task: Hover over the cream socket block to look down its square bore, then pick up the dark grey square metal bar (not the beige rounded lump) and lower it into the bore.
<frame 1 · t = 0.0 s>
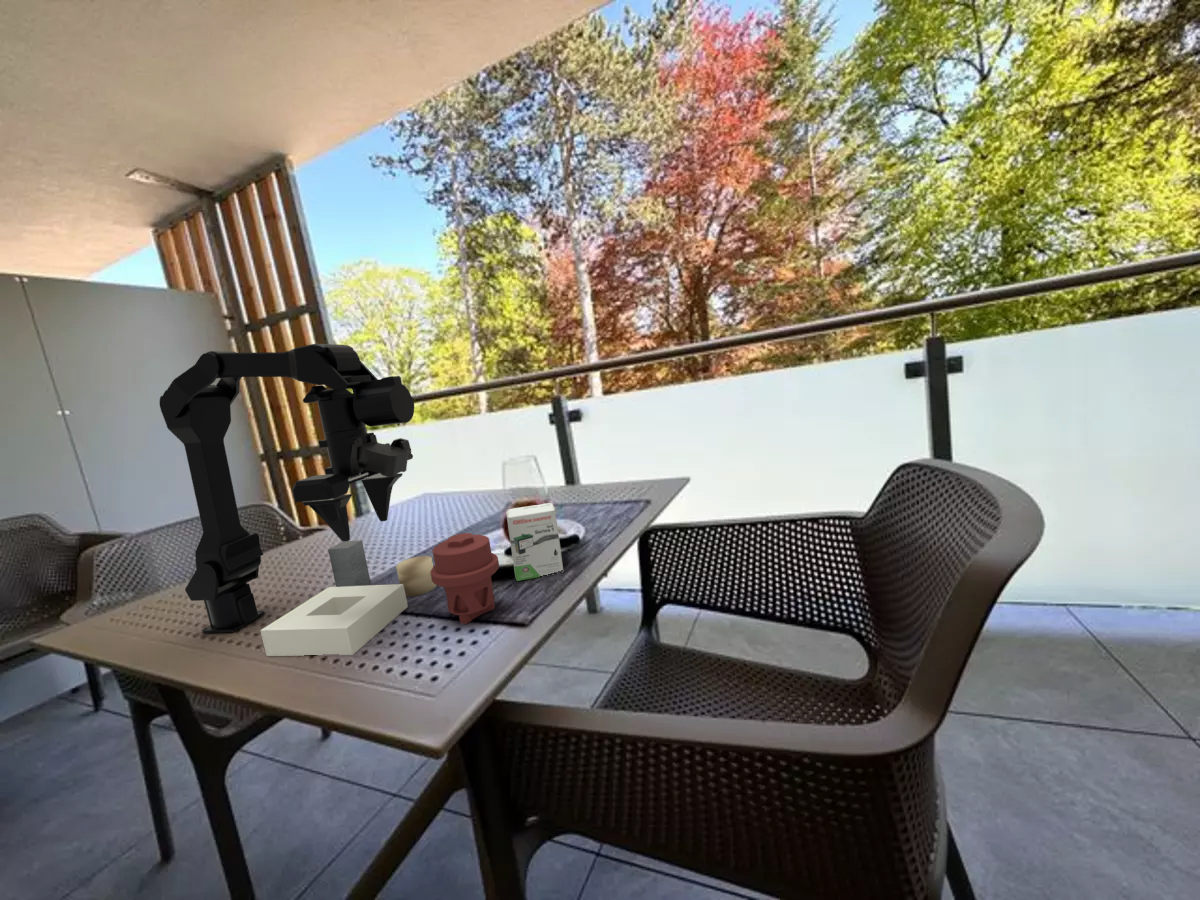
hand: (366, 530, 78), 15 cm above the table, tool pointing down, fingers open, 9 cm apart
beige rounded lump: (419, 588, 91), on the table
ink box: (539, 573, 92), on the table
square bar: (355, 591, 94), on the table
socket block: (342, 629, 79), on the table
mechanical component: (473, 614, 79), on the table
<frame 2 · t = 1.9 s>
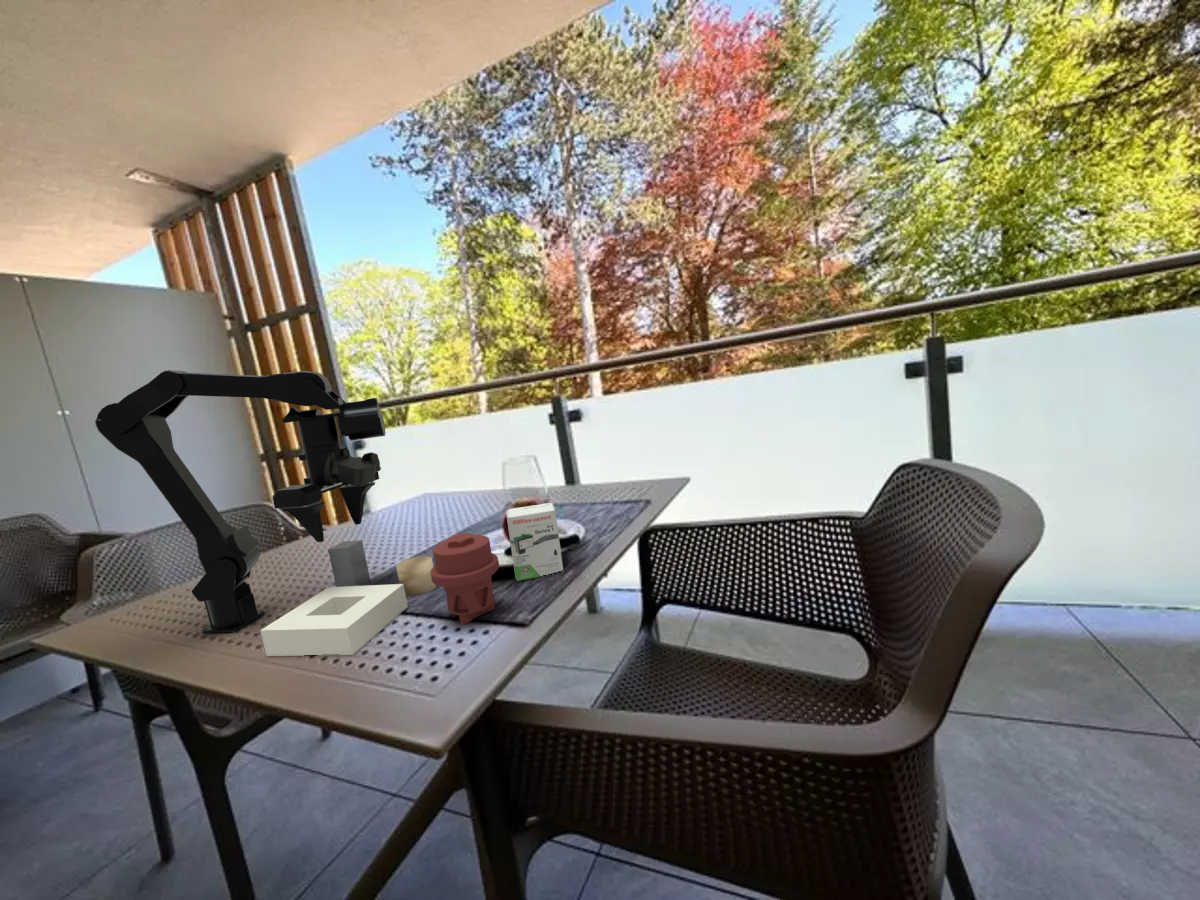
hand: (340, 532, 90), 12 cm above the table, tool pointing down, fingers open, 9 cm apart
nothing on the table moved.
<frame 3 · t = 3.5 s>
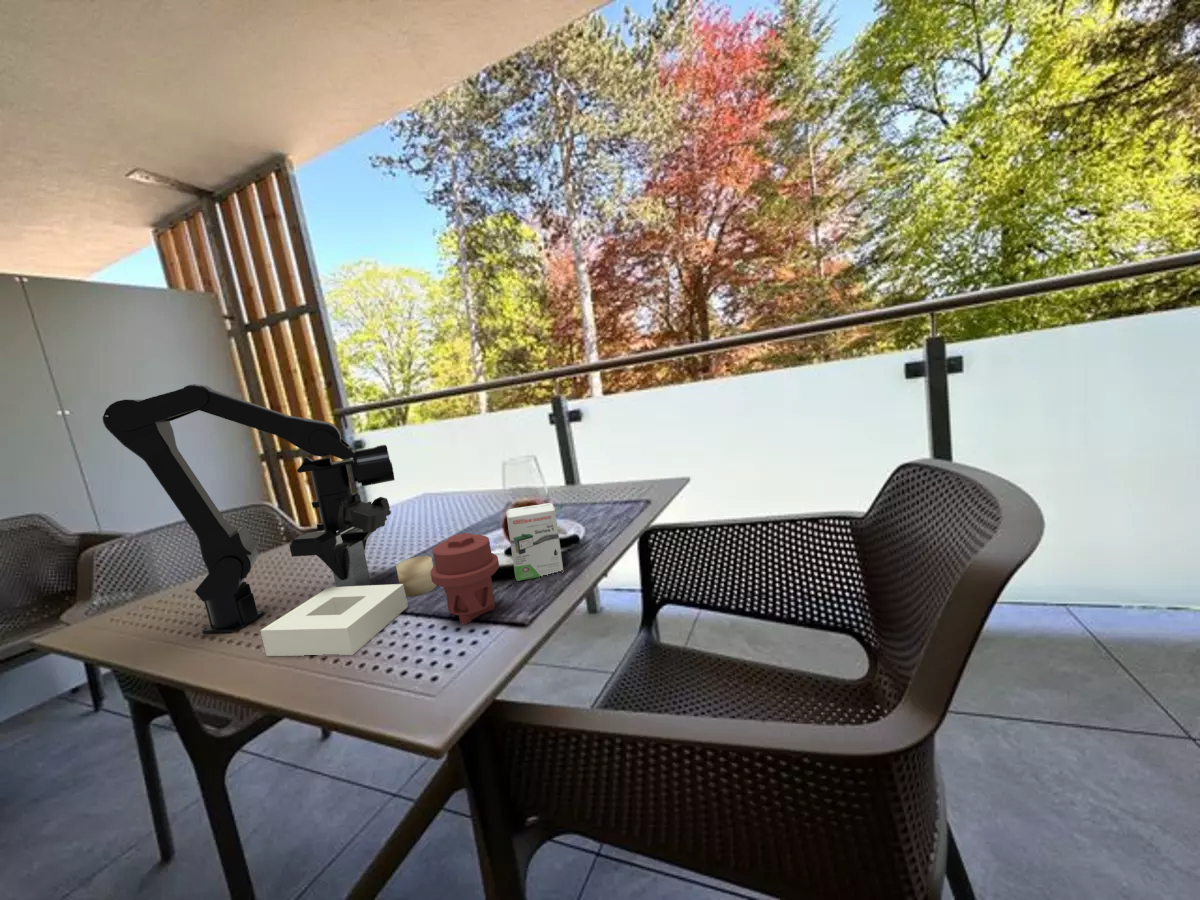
hand: (351, 574, 93), 3 cm above the table, tool pointing down, fingers closed on square bar, 4 cm apart
square bar: (355, 591, 94), on the table, touching gripper
everything else where it was.
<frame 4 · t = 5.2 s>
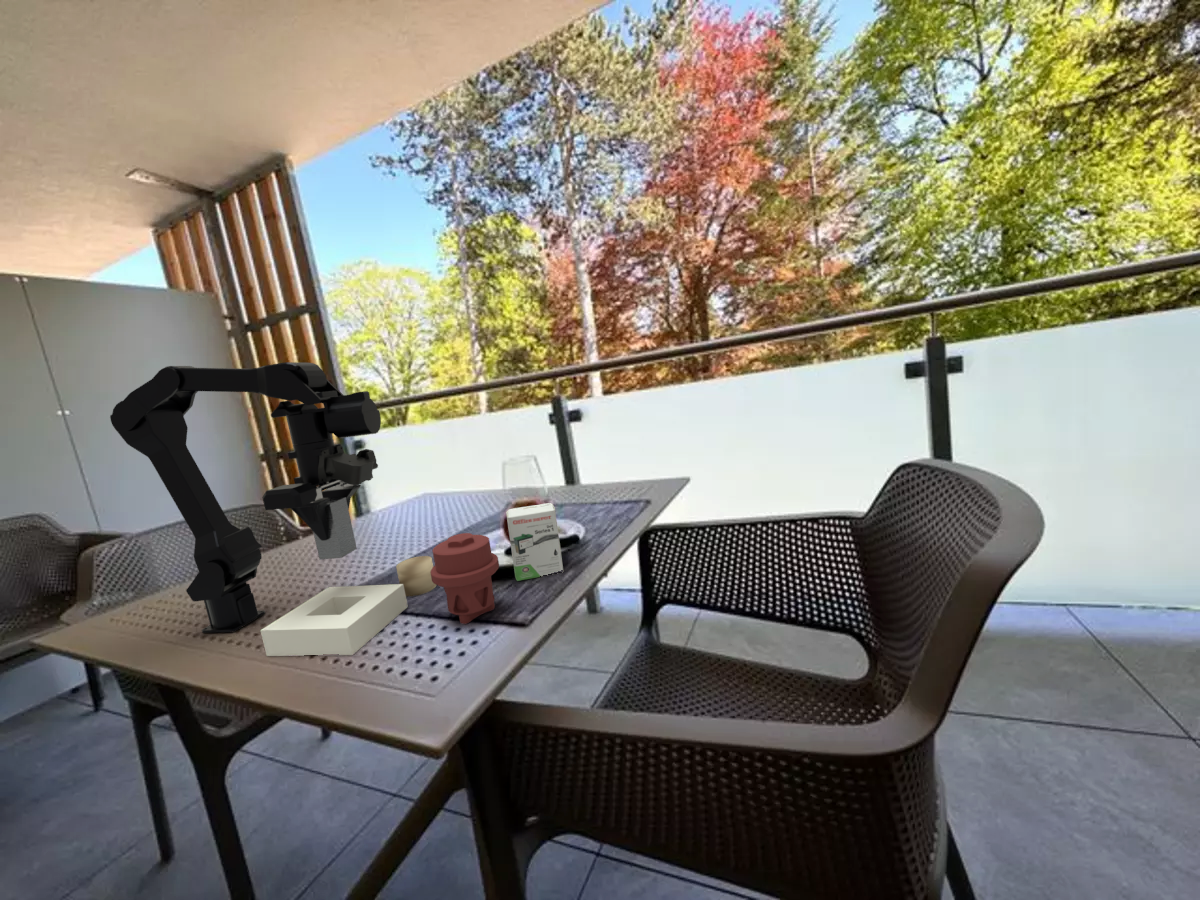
hand: (334, 535, 84), 13 cm above the table, tool pointing down, fingers closed on square bar, 4 cm apart
square bar: (338, 554, 84), point 10 cm above the table, touching gripper
everything else where it was.
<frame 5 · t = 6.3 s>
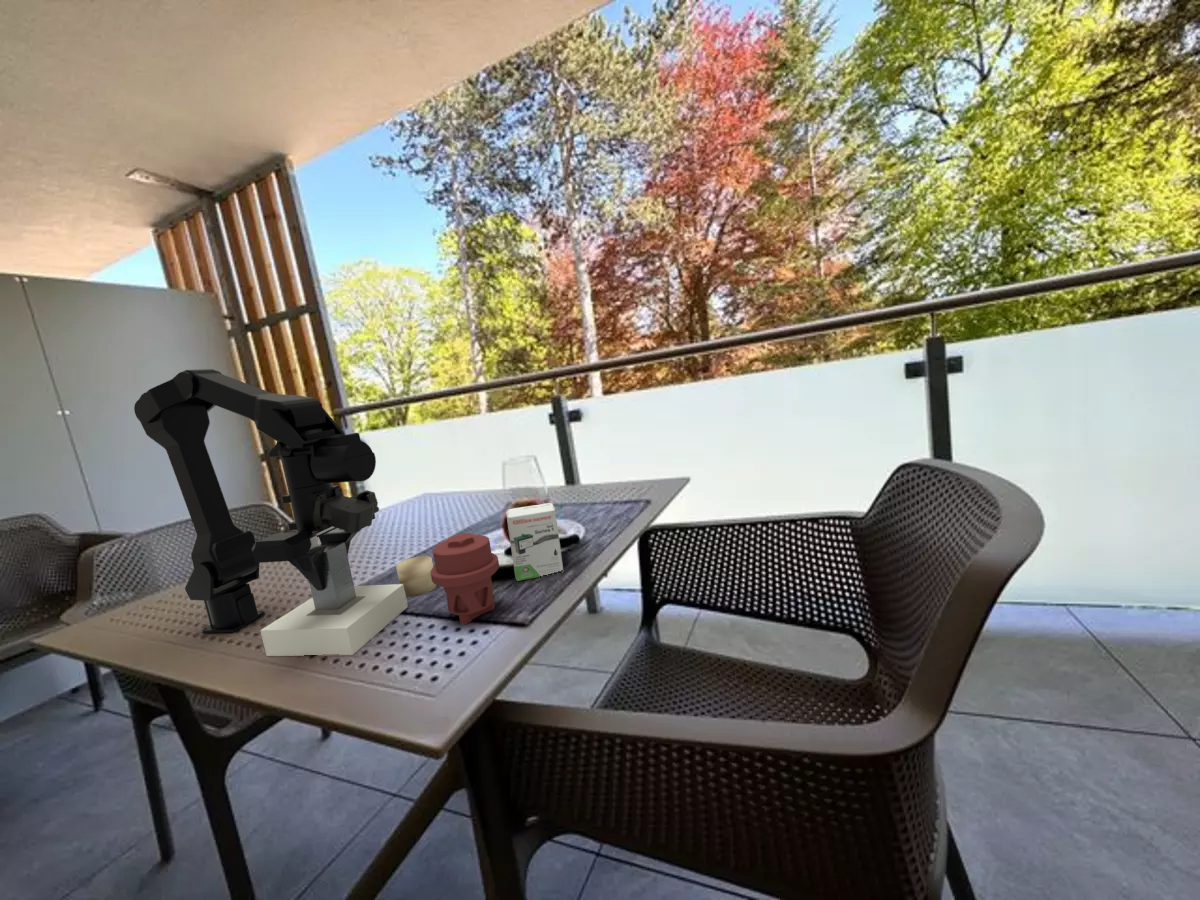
hand: (331, 583, 77), 8 cm above the table, tool pointing down, fingers closed on square bar, 4 cm apart
square bar: (336, 603, 78), point 4 cm above the table, touching gripper
everything else where it was.
when the fingers open (5 cm above the table, at t = 7.2 s): square bar drops 2 cm, resting in socket block.
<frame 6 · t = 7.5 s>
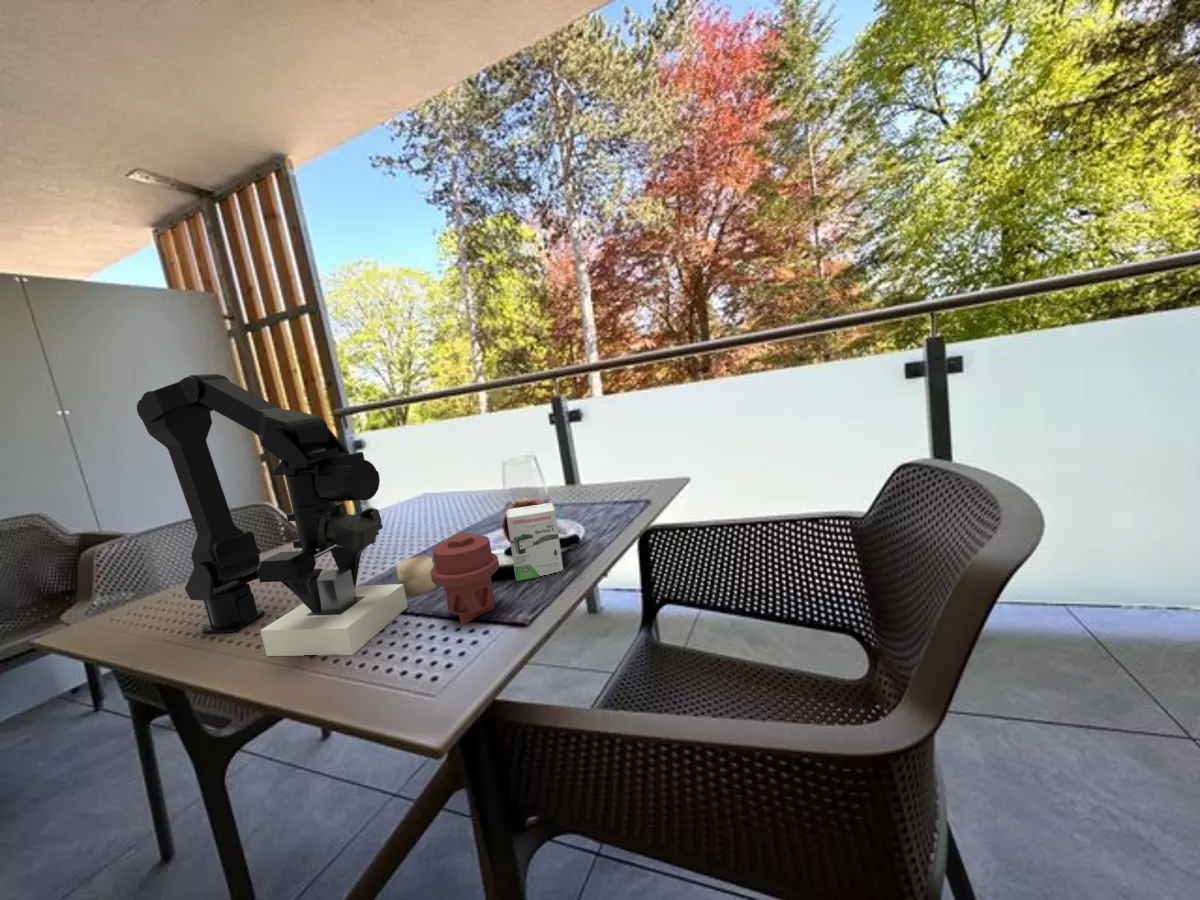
hand: (335, 600, 78), 5 cm above the table, tool pointing down, fingers open, 7 cm apart
square bar: (342, 629, 79), resting in socket block
everything else where it was.
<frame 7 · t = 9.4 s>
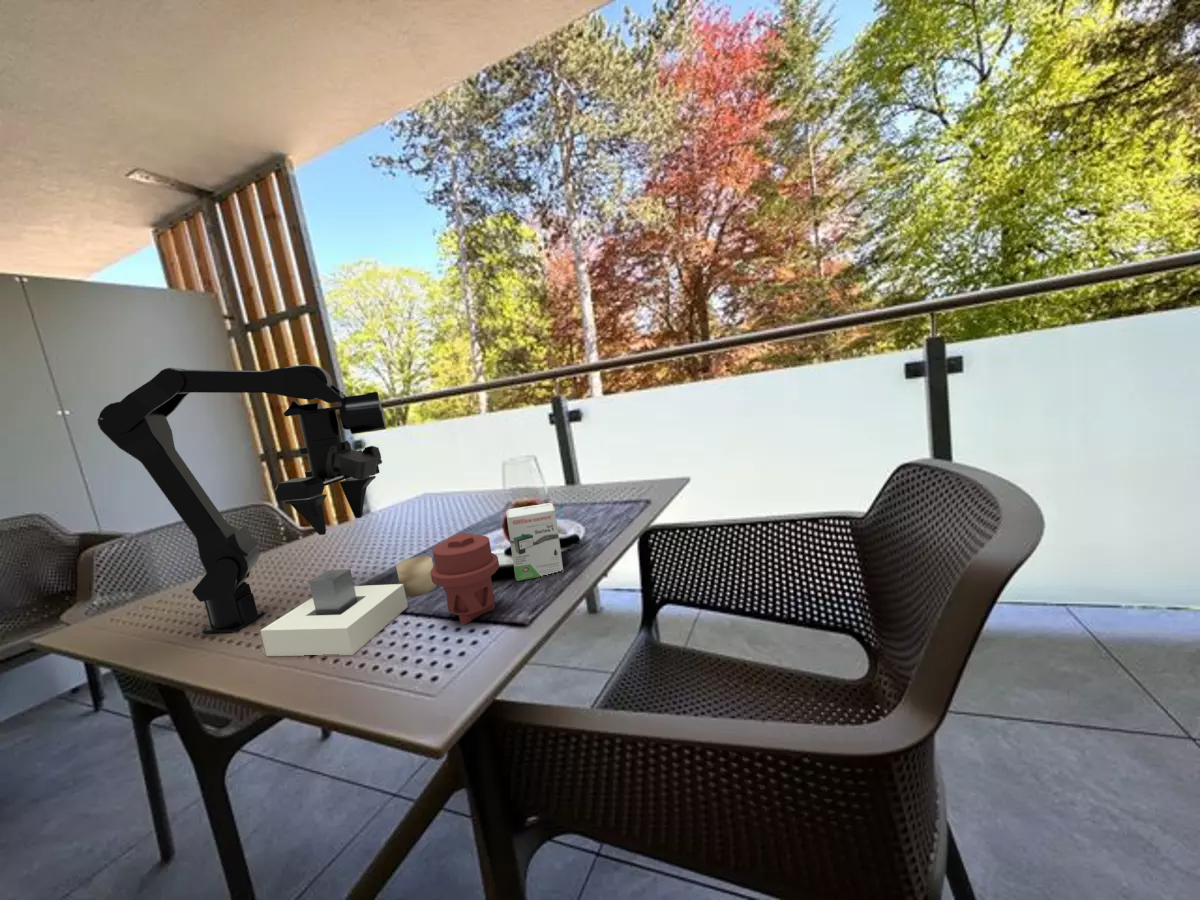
hand: (341, 525, 90), 13 cm above the table, tool pointing down, fingers open, 9 cm apart
nothing on the table moved.
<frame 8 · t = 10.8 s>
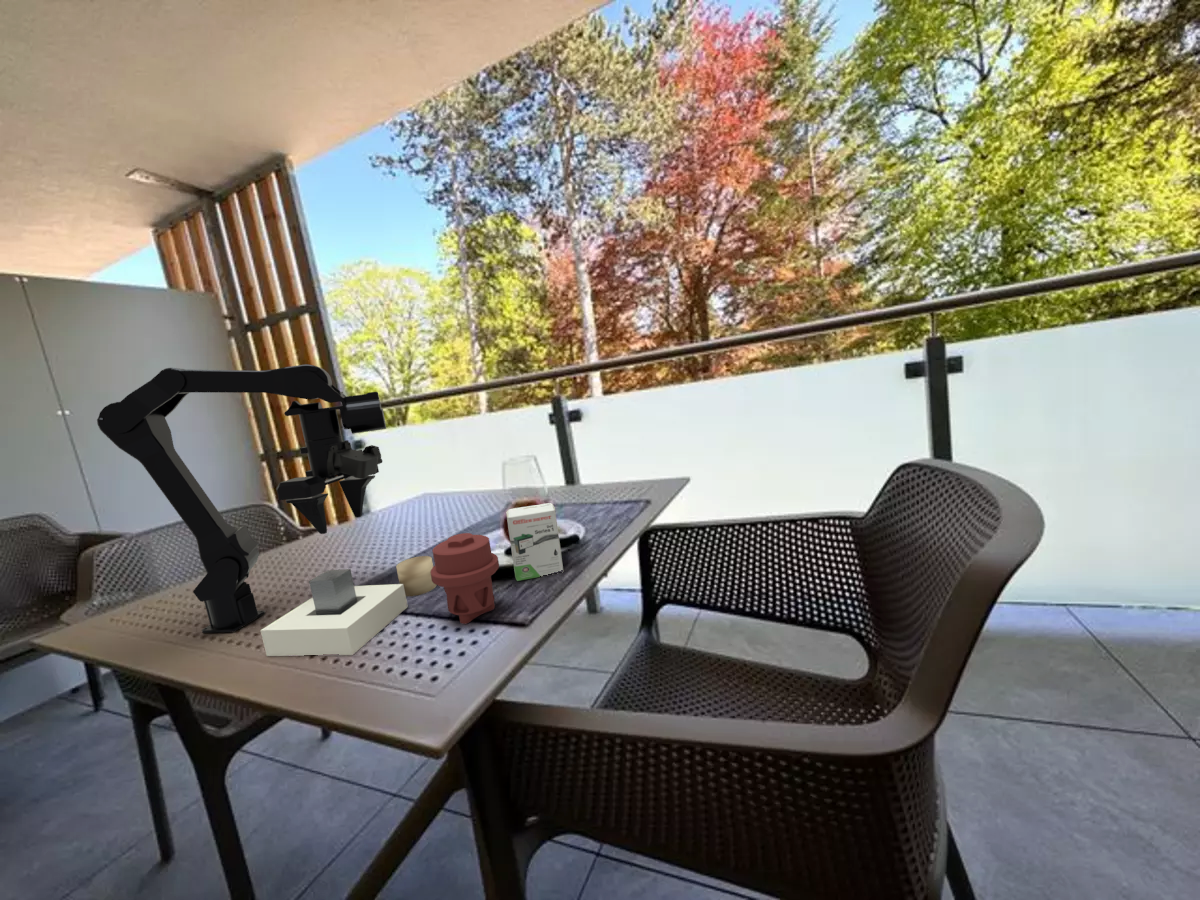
hand: (341, 524, 91), 13 cm above the table, tool pointing down, fingers open, 9 cm apart
nothing on the table moved.
at the end: square bar 0.0 cm off-centre on the socket block, point 0.0 cm above the socket block's base; square bar tilted 0°; the gripper is holding nothing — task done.
